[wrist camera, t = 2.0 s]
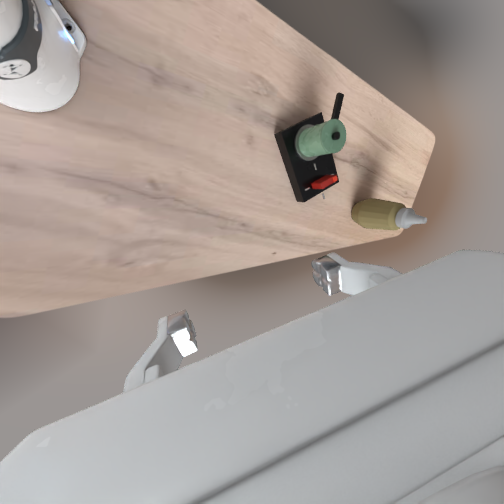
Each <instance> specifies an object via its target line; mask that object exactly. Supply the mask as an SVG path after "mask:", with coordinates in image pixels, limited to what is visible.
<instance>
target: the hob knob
mask: <svg viewBox="0 0 504 504" xmlns="http://www.w3.org/2000/svg"><path fill="white" fill-rule="evenodd" d="M337 180H338V179H337V176H336V175H325V176H324V177H322V178H320V179H318V180H316V181H315V182H313V183H311V184H312V188H313V189H324V188H325V187H327V186H329V185H330V184H332V183H334V182H336V181H337Z"/></svg>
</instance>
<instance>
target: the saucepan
mask: <svg viewBox="0 0 504 504" xmlns="http://www.w3.org/2000/svg"><path fill="white" fill-rule="evenodd" d="M343 97H344V94H342V93H340V92H339V93H337V95H336V100H335V104H334V108H333V113H332V117H331V120H329V121H326V122H324V123H321V124H318V125H315V126H312V127H310V128H307V129H305V130H304V131H303V132H302V133H301V135H300V137H299V149H300V151H301V153H302V154H303V155H304V156H306V157H313V156H319V155H325V154H331V153H337V152H339V151H340V150H341V149H342V148H343V146H344V144H345V141H346V130H345V127H344V125H343V123H342V122H341V121H340V120H338V119H339V114H340V110H341V106H342V101H343Z"/></svg>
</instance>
